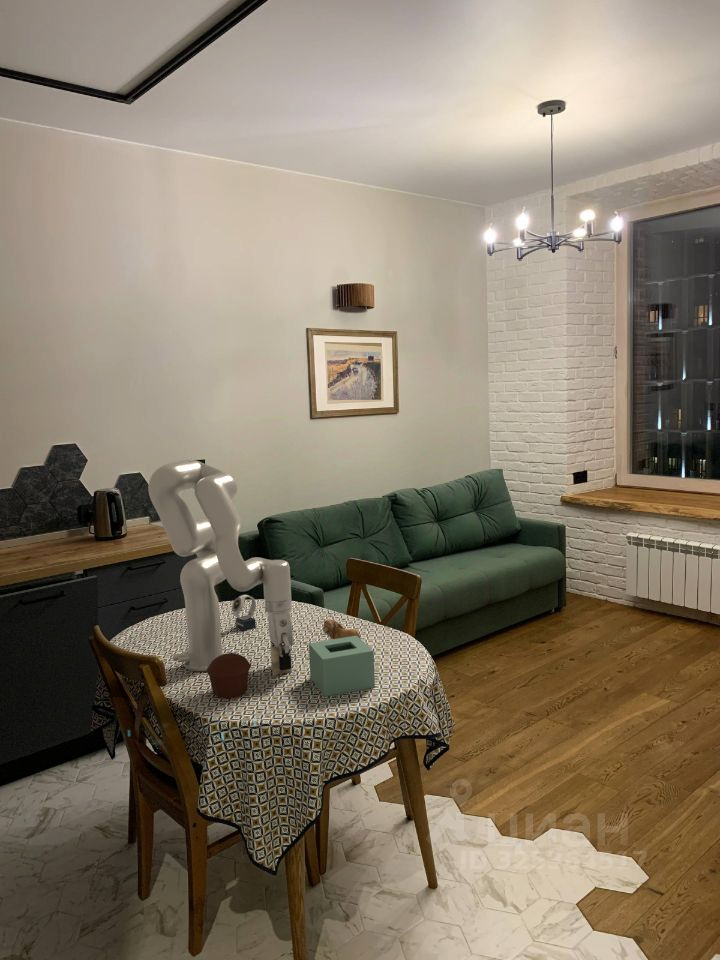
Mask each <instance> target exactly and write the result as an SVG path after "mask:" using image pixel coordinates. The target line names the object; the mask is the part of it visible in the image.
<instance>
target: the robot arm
mask: <svg viewBox="0 0 720 960" xmlns="http://www.w3.org/2000/svg"><path fill="white" fill-rule="evenodd" d="M148 482H149V483H148V489H147V490H148V495H149V498H150V501H151V503H152V506H153V507H154V509H155V511H156V512H157V515H158V516H159V519H160V522H161V525H162V527H163V530H164V532H165V534H166V536H167V539H168V541H169V543H170V545H171V547H172V550H173V552H174V553H175V554H176V555H178V556H179V557H185V558H186V557H189V556H193V555H196V556H197V557H196V558H194V559H191V560H189V561H188V562H187V563H185V565H183V568H182V569H181V572H180V576H179V577H180V578H179V580H180V585H181V589H182V593H183V596H184V597H183V598H184V606H185V607H184V608H185V616H186V629H187V642H188V643H187V644H188V645H187V646H188V647H187V648H186V651H183V653H173V654H172V662H176V661H178V662H177V663H183V665H184V668H185V669H186V670H188V669H189V670H188V671H192V672H207V671H206V670H207V668H208V666H209V665H210V664H211V662H212V661H213V660H214V659H215V658H217V657H218V656H220V655H223V654H224V653H223V646H222V644H223V643H222V632H221V614H220V603H219V597H218V595H217V594H216V590H215V586H216V585H218V584H220V583H222V582H223V581H225V580H226V581H227V582H228V584H229V585H230V587H231V588H233V589H234V590H236V591H238V592H241V593H242V592H243V593H244V592H247V591H250V590H251V589H253V588H255V587H256V586H258V585H261V584H262V585H263V597H264V598H263V599H264V612H265V613H267V614H268V615H267V617H268V633H269V639H270V643H271V645H270V647H272V646H276V647H277V648H279V653H280V656H279V667H280V670H281V671H282V670H287V669H291V665H292V653H291V654H290V649H289V647H290V648H291V647H292V646H293V645H294V635H293V626H292V625H293V624H292V617H291V616H292V615H291V613H290V611H291V610H292V608H293V603H292V588H291V587H292V585H291V583H292V582H291V567H290V564H289V562H288V561H287V560H284V559H267V558H263V557H256V556H255V557H251V558H249V559H247V560H244V558H243V555H242V554H241V551H240V548H239V537H240V533H241V530H242V527H243V519H242V518H241V516H240V514H239V512H238V510H237V508H236V506H235V503H234V502H233V500H232V499H234V497H235V496H236V495H237V492H238V485H237V482H236V481H235V479H234V477H232V476H231V475H230V474H229V473H227V472H225V471H222V470H221V469H219V468H215V467H213V466H211V465H209V464H207V463H203V462H201V461H199V460H196V459H185V460H180V461H179V460H178V461H174V462H170V463H166V464H163V465H161V466H160V467H158V468H157V469H156V470H155V471H154V472H153V473H152V475H151V476H150V479H149V481H148ZM189 489H194V490H193V491H194V495H195V498H196V500H197V502H198V504H199V506H200V508H201V510H202V511H203V514H204V515H205V517H206V519H205V518H201V517H200V518H195V519H194V518H193V516H192V514H191V511H190V509H189V506H188V505H187V503H186V502H185V500H184V499H183V498H182V497H181V496H180V495H179V493H180V492H183V491H186V490H189ZM281 648H284V649H283V650H282V649H281Z"/></svg>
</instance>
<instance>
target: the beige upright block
mask: <svg viewBox="0 0 720 960" xmlns="http://www.w3.org/2000/svg"><path fill="white" fill-rule="evenodd" d="M269 648H270V663H271V664H270V665H271V671H272V673H273V675H282V674H287V673H292V672H293V668H292V664H291V669H287V670H282V671H281V670H280V667H279V656H280V653H279V648H277V647H276V646H272V647H271V646H270V647H269ZM291 648H292V647H291V646H290V647H289V649H290V654H291V655H292V649H291ZM281 649H282V650H283V649H284V648H281Z"/></svg>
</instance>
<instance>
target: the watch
mask: <svg viewBox="0 0 720 960" xmlns="http://www.w3.org/2000/svg"><path fill="white" fill-rule="evenodd" d="M246 598H249V599H250V600H251V604H250V607H249V610H248V613H247V614H246V615H242V616H241V617H240V616H239V615H240V612H241V611H242V610H243V608H244V605H245V600H246ZM231 606H232V607H231V610H232V613H233V614H234V616H235V627H236V628H237V629H238V630H242V631H243V632H247V631H249V630H253V629H256V627H257V626H256V618H254V617H253V616H254V614H255V612H256V609H257V603H256V599H255V598H254V597H253V596H250V595H248V594H242V595H239V596H238V597H236V598H235V599H234V600H233V602H232V605H231Z"/></svg>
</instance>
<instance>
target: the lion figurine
mask: <svg viewBox="0 0 720 960" xmlns="http://www.w3.org/2000/svg"><path fill="white" fill-rule="evenodd" d="M321 630H322V631H323V634H324V635H327V636H328V637H329V638H330V640H332V639H339V638H345V637H351V636H358V637H359V638H360V639H361V640H362V637H361V635H360V632H359V631H358V630H357V629H354V628H344V627H343V626H342V624H341V623H339V622H337V621H336V620H335V619H334V620H333V619H331V618H329V619H326V620H324V621H323V628H322V629H321Z"/></svg>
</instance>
